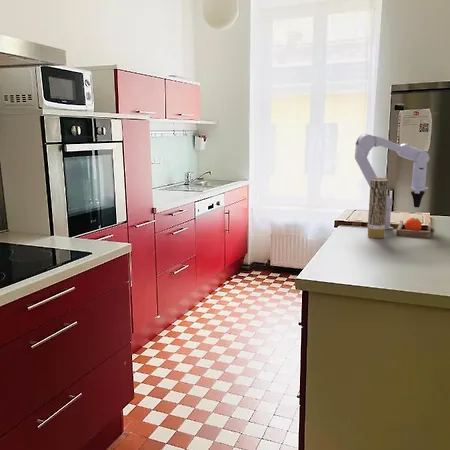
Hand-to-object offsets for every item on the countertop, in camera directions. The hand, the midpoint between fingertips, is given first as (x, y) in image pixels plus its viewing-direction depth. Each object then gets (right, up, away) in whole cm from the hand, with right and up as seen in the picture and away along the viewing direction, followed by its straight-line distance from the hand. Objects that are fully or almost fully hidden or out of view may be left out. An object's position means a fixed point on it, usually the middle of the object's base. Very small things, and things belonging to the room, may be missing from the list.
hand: (416, 207), depth 216 cm
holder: (-3, -11, -5) cm, 13 cm away
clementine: (-5, -12, -8) cm, 15 cm away
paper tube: (-23, -14, -14) cm, 30 cm away
